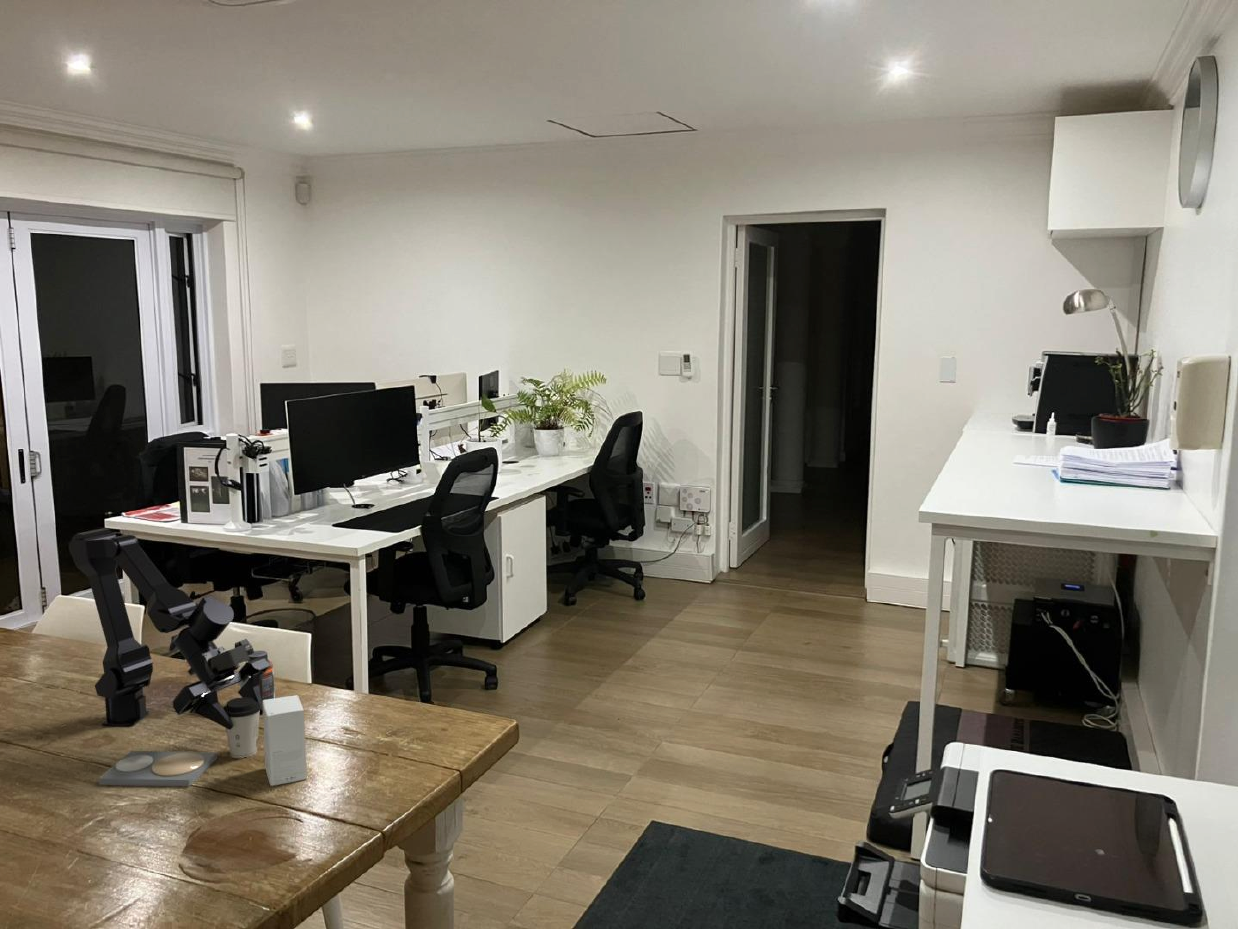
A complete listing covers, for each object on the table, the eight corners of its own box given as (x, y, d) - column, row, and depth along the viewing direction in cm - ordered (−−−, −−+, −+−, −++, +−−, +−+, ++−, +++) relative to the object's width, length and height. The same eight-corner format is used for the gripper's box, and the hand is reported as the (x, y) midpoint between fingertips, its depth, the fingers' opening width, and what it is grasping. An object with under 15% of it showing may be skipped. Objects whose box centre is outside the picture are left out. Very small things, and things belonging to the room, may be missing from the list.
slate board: (98, 785, 169) (98, 776, 169) (131, 757, 180) (131, 748, 180) (189, 786, 169) (188, 778, 168) (216, 758, 180) (216, 750, 179)
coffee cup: (271, 749, 184) (269, 699, 182) (243, 764, 177) (240, 712, 176) (244, 742, 186) (241, 692, 185) (215, 756, 180) (212, 705, 179)
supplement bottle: (280, 699, 207) (277, 649, 206) (267, 710, 202) (264, 658, 200) (253, 698, 208) (250, 648, 206) (239, 709, 202) (237, 657, 201)
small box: (307, 780, 172) (304, 710, 170) (269, 787, 169) (266, 716, 167) (301, 761, 179) (298, 694, 177) (264, 768, 176) (261, 699, 174)
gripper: (179, 644, 172) (227, 715, 169) (260, 616, 188) (305, 680, 185) (152, 679, 177) (198, 749, 173) (233, 649, 193) (277, 712, 190)
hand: (247, 720), depth 180 cm, fingers closed on coffee cup, 7 cm apart
